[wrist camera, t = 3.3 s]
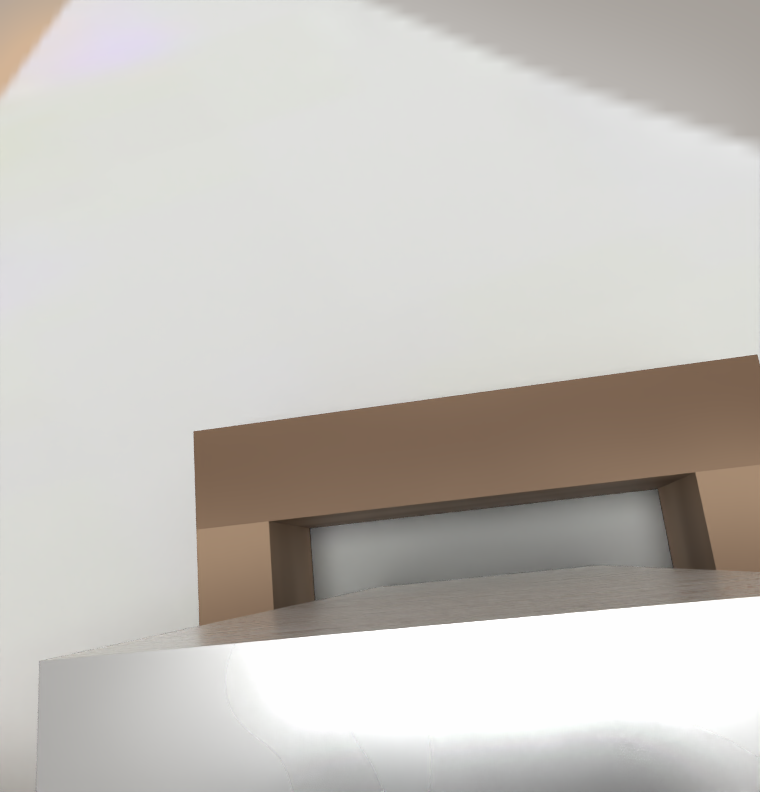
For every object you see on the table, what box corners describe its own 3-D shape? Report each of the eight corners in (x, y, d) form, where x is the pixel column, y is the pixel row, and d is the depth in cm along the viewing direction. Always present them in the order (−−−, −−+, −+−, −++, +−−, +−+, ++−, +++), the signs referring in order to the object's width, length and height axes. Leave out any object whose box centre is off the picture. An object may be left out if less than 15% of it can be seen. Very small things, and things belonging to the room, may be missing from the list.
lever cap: (635, 764, 14) (1285, 1735, 2) (395, 778, 15) (17, 1582, 3) (600, 565, 15) (941, 579, 3) (377, 587, 16) (39, 659, 4)
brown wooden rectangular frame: (892, 1198, 12) (1020, 1406, 9) (281, 1183, 13) (221, 1356, 10) (708, 392, 15) (757, 354, 12) (245, 453, 17) (193, 431, 14)
